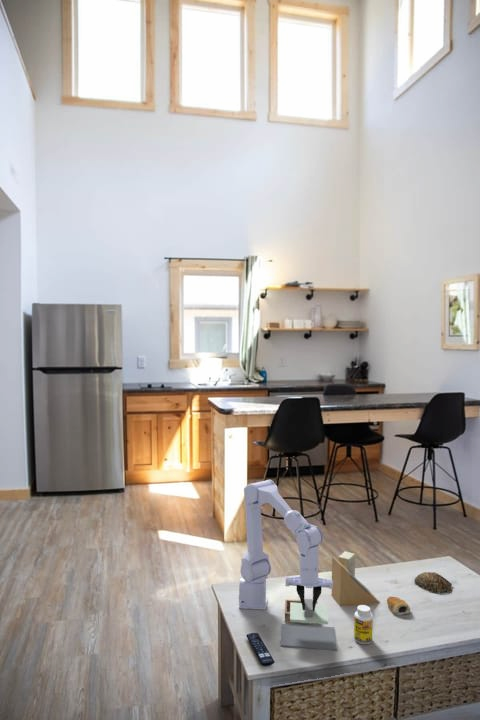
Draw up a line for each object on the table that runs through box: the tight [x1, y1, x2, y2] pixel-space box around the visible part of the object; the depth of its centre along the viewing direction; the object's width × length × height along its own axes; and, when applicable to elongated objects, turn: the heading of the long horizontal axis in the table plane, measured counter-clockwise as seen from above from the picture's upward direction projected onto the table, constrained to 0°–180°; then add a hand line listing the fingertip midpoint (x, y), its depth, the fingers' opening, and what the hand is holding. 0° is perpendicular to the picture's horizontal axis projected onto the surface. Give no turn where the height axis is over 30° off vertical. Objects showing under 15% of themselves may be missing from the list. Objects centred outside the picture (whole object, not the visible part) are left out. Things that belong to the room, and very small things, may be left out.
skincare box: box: [337, 550, 356, 578], centre depth 200 cm, size 6×4×12 cm
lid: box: [289, 598, 329, 625], centre depth 167 cm, size 11×9×4 cm
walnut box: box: [284, 599, 319, 625], centre depth 180 cm, size 11×9×3 cm
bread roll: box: [413, 571, 453, 594], centre depth 202 cm, size 13×12×5 cm
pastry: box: [386, 596, 411, 616], centre depth 185 cm, size 9×7×4 cm
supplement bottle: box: [353, 604, 374, 645], centre depth 165 cm, size 6×6×10 cm
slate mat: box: [279, 623, 338, 651], centre depth 167 cm, size 17×12×1 cm
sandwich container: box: [331, 555, 381, 608], centre depth 191 cm, size 9×15×15 cm, turn 101°
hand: (308, 608), depth 167 cm, fingers closed on lid, 2 cm apart
